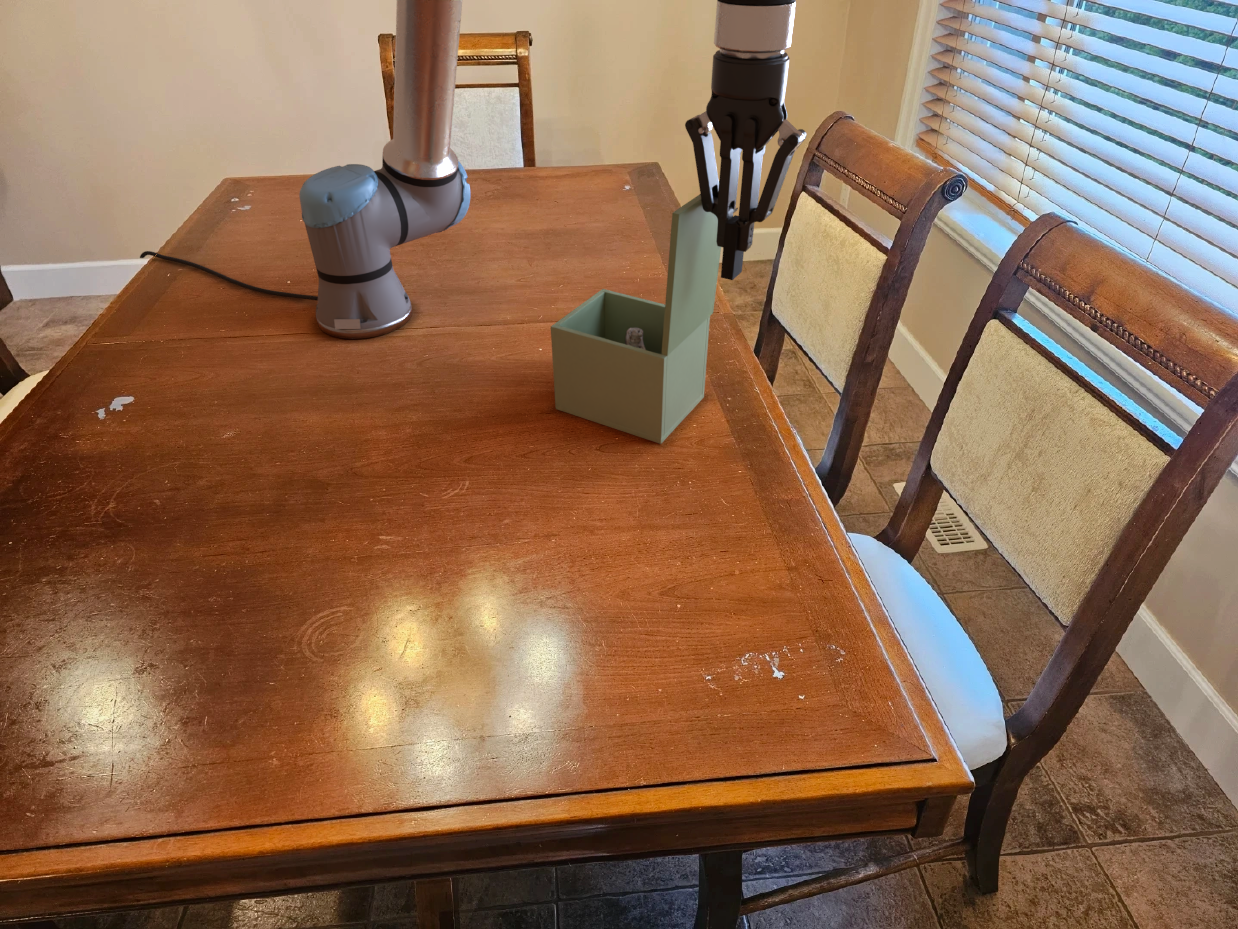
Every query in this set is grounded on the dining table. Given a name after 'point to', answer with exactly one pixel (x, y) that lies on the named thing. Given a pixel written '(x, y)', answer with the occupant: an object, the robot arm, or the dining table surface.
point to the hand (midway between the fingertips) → (731, 274)
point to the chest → (626, 367)
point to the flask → (635, 338)
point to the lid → (690, 273)
